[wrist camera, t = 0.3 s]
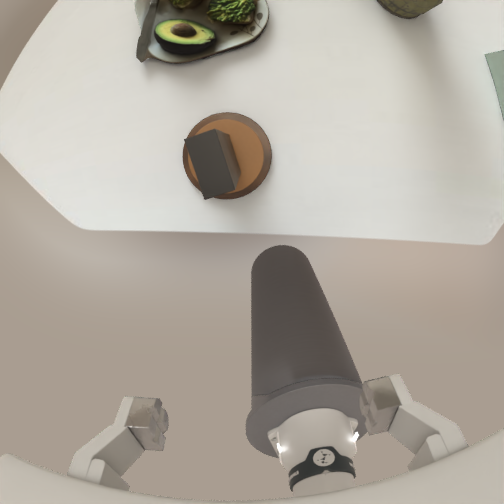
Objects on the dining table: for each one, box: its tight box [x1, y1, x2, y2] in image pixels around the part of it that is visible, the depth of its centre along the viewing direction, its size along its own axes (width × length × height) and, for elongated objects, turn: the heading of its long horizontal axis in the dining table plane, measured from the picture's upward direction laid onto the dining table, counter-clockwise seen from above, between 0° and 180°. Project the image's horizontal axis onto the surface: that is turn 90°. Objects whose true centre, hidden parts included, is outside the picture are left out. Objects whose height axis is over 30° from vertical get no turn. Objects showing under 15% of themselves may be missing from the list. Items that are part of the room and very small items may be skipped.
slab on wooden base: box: [184, 119, 264, 200], centre depth 28 cm, size 9×9×15 cm
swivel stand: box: [183, 112, 271, 199], centre depth 36 cm, size 11×11×1 cm
